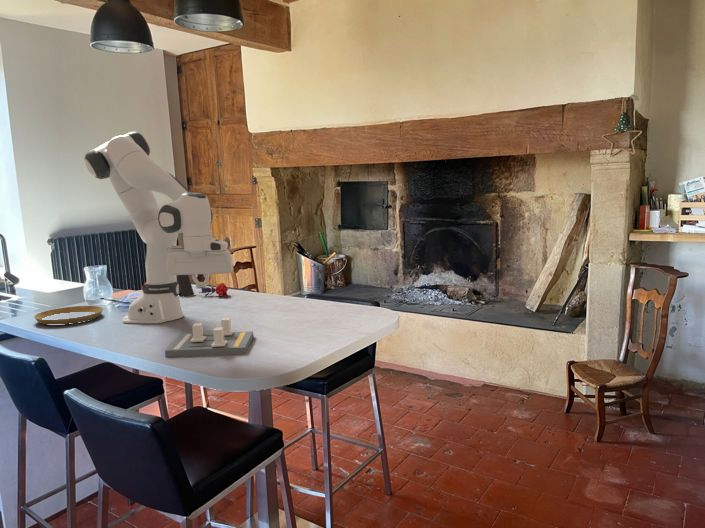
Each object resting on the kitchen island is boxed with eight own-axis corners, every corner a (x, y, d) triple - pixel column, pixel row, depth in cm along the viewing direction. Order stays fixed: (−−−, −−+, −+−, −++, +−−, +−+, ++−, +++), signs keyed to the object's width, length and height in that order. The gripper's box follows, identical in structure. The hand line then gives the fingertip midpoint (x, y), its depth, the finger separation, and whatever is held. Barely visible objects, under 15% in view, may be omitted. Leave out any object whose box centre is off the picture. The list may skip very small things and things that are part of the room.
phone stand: (194, 294, 257) (192, 269, 255) (183, 296, 252) (181, 271, 250) (181, 292, 262) (179, 268, 260) (171, 294, 257) (169, 269, 255)
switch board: (165, 357, 164) (164, 350, 164) (181, 339, 182) (181, 333, 181) (245, 353, 165) (244, 347, 165) (253, 337, 183) (252, 331, 182)
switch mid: (190, 342, 170) (189, 326, 170) (193, 338, 175) (192, 322, 174) (203, 341, 171) (202, 326, 170) (206, 337, 175) (205, 322, 174)
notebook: (97, 299, 253) (96, 295, 252) (129, 293, 266) (128, 289, 266) (132, 306, 238) (132, 301, 237) (164, 298, 252) (164, 294, 251)
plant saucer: (82, 310, 231) (81, 302, 230) (116, 316, 218) (115, 308, 217) (23, 323, 211) (22, 315, 210) (56, 331, 198) (55, 322, 197)
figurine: (202, 293, 255) (233, 293, 254) (196, 300, 248) (228, 300, 247) (200, 280, 253) (231, 280, 252) (194, 288, 245) (226, 287, 244)
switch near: (211, 346, 165) (210, 330, 164) (214, 342, 169) (213, 327, 168) (224, 346, 165) (223, 330, 164) (227, 342, 169) (226, 326, 169)
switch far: (219, 335, 177) (218, 320, 176) (221, 331, 181) (220, 317, 180) (231, 335, 177) (230, 320, 176) (233, 331, 181) (233, 316, 180)
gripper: (161, 247, 165) (165, 291, 167) (229, 244, 166) (232, 288, 168) (167, 244, 171) (170, 287, 173) (232, 242, 172) (235, 284, 174)
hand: (201, 288), depth 171 cm, fingers closed
